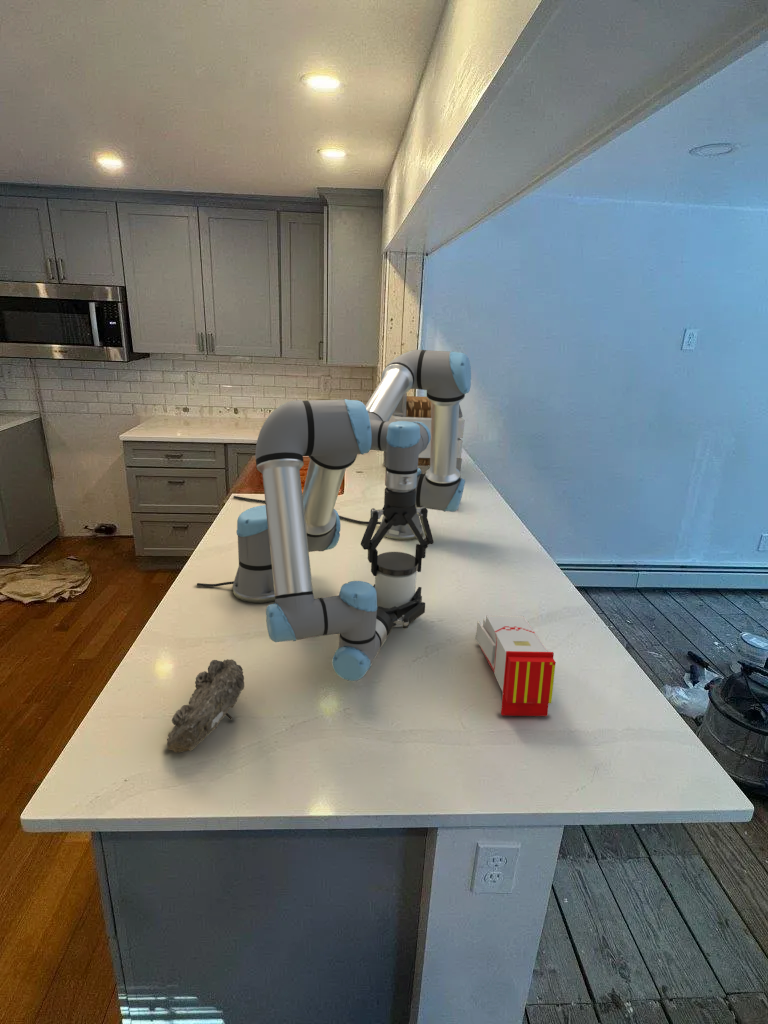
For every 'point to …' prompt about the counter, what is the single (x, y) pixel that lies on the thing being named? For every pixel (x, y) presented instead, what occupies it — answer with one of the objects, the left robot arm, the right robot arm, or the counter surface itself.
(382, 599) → the jar
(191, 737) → the fossil
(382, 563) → the lid
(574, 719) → the counter surface
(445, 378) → the right robot arm
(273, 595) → the left robot arm
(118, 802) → the counter surface
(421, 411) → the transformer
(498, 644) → the toy
